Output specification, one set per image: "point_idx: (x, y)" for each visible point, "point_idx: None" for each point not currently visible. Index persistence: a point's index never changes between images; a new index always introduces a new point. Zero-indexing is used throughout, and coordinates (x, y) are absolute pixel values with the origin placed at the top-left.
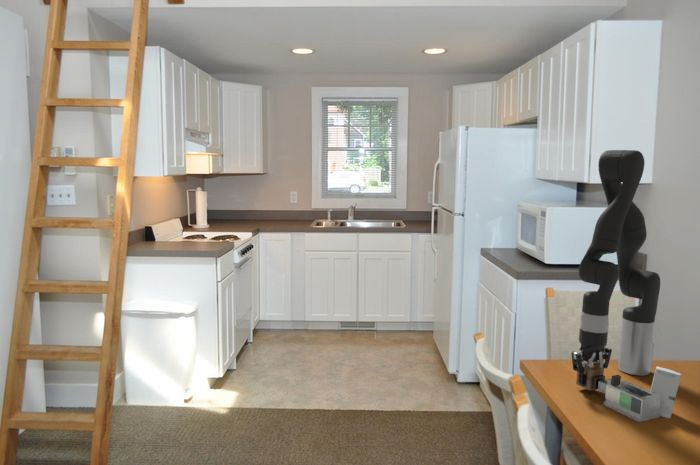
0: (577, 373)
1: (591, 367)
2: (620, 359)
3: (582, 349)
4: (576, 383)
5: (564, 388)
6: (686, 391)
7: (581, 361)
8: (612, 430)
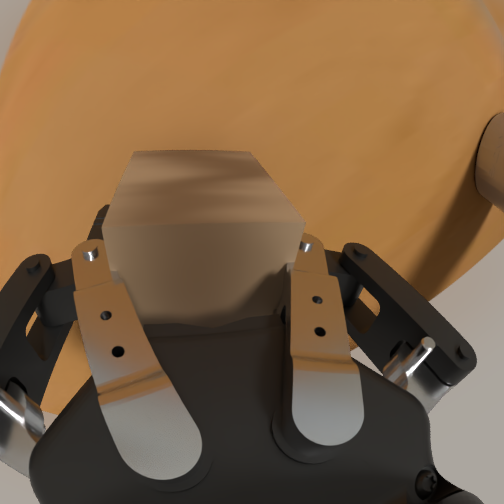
0: (120, 186)
1: (190, 313)
2: None
3: (65, 500)
4: (132, 155)
5: (76, 121)
6: (433, 290)
7: (39, 398)
8: (65, 382)
